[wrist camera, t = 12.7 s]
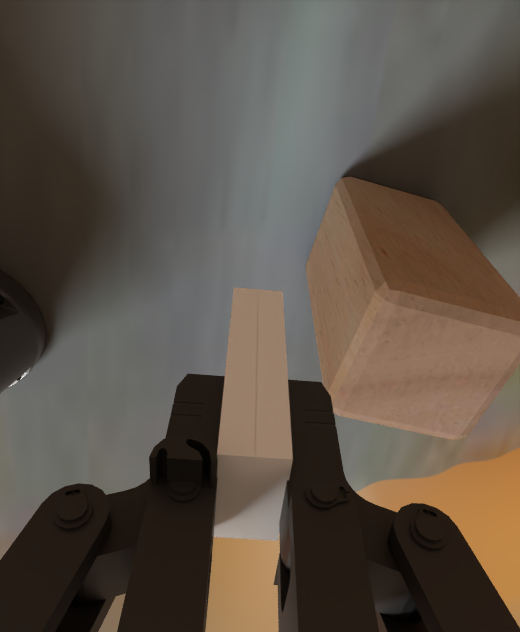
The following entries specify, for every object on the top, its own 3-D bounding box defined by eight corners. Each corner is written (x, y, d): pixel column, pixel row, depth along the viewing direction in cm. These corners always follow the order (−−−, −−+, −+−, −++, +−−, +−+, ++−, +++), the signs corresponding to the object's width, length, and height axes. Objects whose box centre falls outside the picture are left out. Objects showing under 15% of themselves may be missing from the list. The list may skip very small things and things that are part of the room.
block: (338, 169, 42) (386, 284, 26) (444, 200, 44) (555, 328, 27) (301, 269, 48) (322, 418, 31) (397, 293, 49) (466, 449, 32)
